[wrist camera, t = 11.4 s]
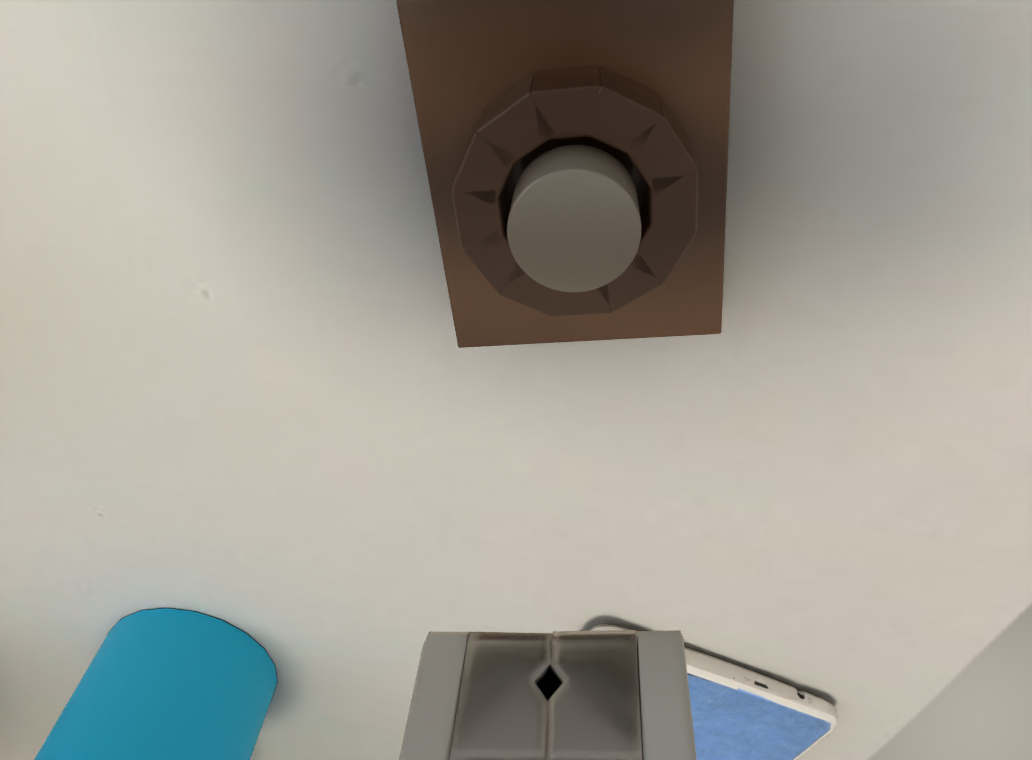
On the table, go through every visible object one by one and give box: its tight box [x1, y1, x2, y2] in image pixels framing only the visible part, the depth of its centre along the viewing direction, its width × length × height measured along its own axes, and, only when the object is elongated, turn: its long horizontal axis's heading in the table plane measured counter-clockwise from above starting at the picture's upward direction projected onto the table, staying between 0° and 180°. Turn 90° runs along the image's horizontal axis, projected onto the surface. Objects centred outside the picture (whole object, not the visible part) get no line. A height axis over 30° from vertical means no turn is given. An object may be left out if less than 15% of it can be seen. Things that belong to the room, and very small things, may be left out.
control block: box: [397, 0, 734, 348], centre depth 22 cm, size 10×8×4 cm
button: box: [507, 145, 641, 292], centre depth 20 cm, size 3×3×2 cm
